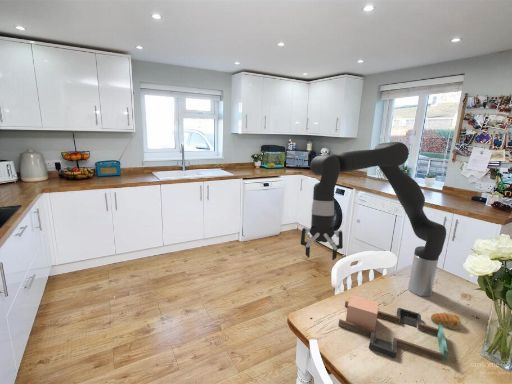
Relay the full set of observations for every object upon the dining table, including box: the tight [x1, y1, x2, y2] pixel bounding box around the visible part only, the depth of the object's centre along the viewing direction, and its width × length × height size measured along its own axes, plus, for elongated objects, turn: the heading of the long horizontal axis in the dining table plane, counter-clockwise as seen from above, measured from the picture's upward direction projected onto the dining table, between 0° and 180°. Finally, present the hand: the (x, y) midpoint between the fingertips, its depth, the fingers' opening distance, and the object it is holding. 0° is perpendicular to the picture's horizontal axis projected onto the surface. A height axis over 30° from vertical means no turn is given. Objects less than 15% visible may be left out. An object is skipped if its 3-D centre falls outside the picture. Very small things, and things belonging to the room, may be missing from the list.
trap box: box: [338, 300, 449, 363], centre depth 99 cm, size 27×33×4 cm
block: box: [345, 294, 379, 331], centre depth 103 cm, size 8×10×8 cm
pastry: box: [430, 311, 463, 330], centre depth 105 cm, size 9×7×4 cm
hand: (320, 258), depth 97 cm, fingers open, 8 cm apart
